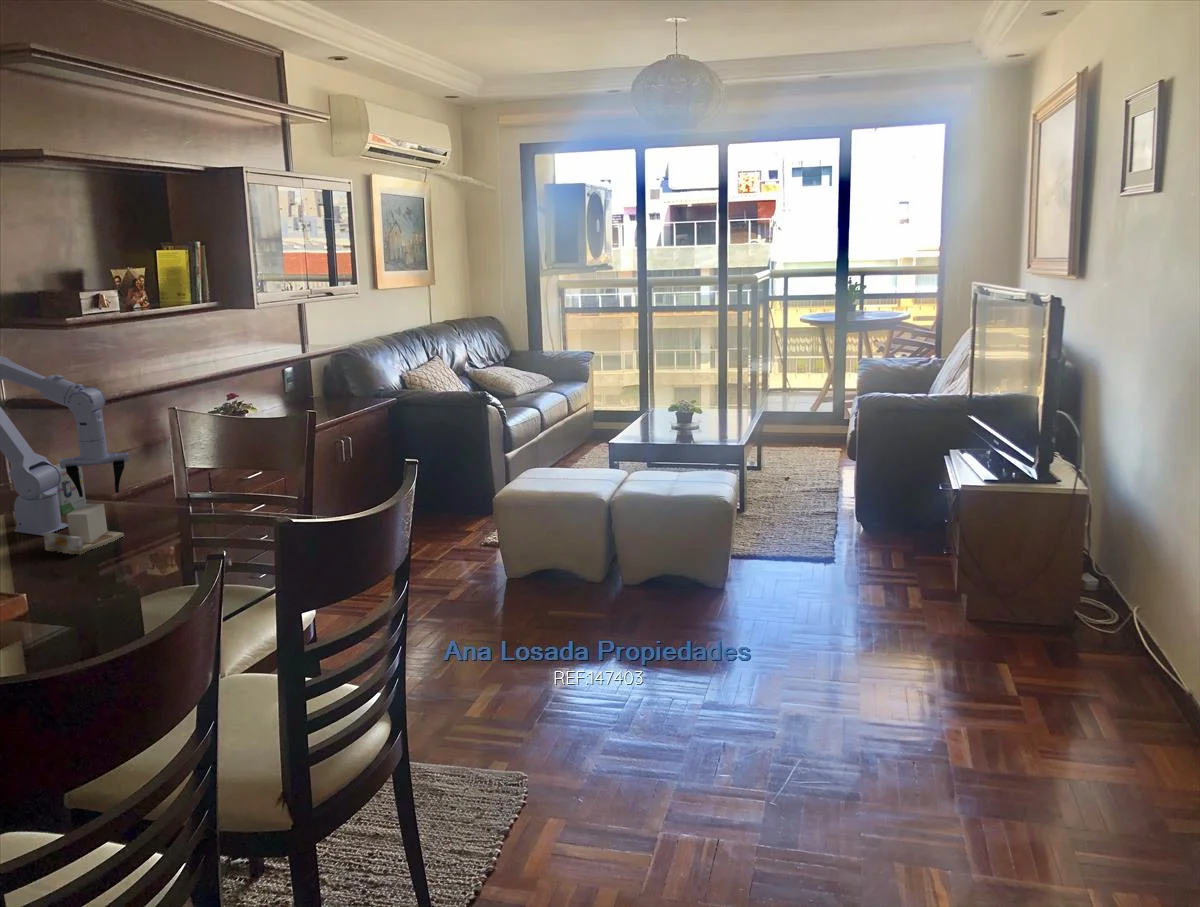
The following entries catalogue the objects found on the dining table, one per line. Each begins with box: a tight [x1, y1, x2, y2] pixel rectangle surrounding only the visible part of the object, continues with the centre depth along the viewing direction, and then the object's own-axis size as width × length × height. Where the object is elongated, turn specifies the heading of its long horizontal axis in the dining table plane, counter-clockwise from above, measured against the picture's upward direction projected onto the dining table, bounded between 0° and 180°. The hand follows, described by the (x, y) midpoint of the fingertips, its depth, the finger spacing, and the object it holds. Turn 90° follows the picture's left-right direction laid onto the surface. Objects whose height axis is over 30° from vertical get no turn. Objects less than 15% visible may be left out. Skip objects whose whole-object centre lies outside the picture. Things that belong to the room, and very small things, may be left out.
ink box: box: [54, 463, 87, 516], centre depth 243 cm, size 9×5×12 cm, turn 168°
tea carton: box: [66, 503, 108, 543], centre depth 220 cm, size 5×8×7 cm, turn 1°
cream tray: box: [43, 530, 125, 556], centre depth 219 cm, size 10×13×4 cm
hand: (99, 493), depth 226 cm, fingers open, 7 cm apart
